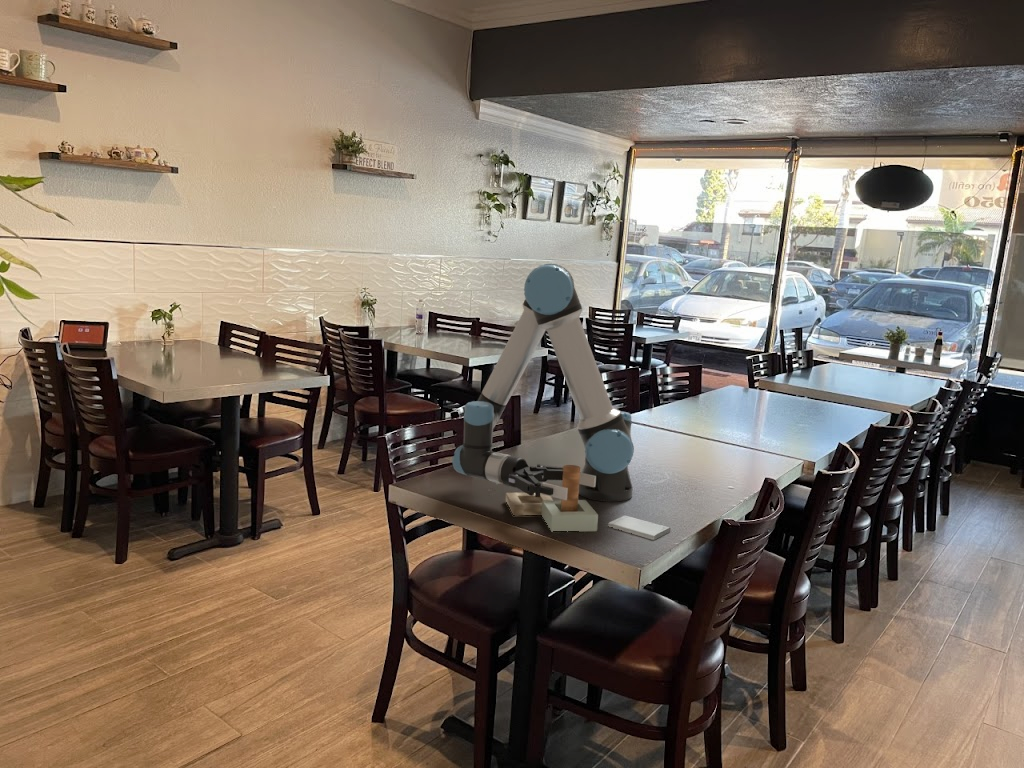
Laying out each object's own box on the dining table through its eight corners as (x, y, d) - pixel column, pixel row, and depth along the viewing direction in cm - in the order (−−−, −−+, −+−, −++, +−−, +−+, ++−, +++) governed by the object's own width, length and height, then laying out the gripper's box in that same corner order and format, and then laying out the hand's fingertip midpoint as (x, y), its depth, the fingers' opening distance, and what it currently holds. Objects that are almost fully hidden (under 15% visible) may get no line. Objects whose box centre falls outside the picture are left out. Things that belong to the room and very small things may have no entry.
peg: (574, 520, 191) (577, 464, 189) (578, 526, 187) (582, 469, 185) (558, 520, 190) (561, 464, 188) (562, 526, 186) (565, 469, 184)
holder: (547, 501, 204) (547, 492, 204) (556, 515, 194) (557, 506, 193) (505, 502, 202) (505, 492, 202) (513, 516, 192) (513, 506, 191)
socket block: (584, 515, 195) (585, 500, 194) (596, 531, 184) (598, 514, 184) (541, 516, 193) (542, 500, 192) (551, 531, 182) (552, 515, 182)
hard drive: (670, 527, 187) (625, 514, 194) (654, 535, 180) (608, 522, 188) (670, 533, 187) (625, 520, 194) (653, 542, 180) (607, 528, 188)
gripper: (533, 474, 208) (604, 491, 196) (477, 495, 188) (552, 516, 176) (535, 446, 207) (606, 462, 195) (478, 465, 186) (554, 483, 175)
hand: (581, 487), depth 185 cm, fingers open, 13 cm apart
